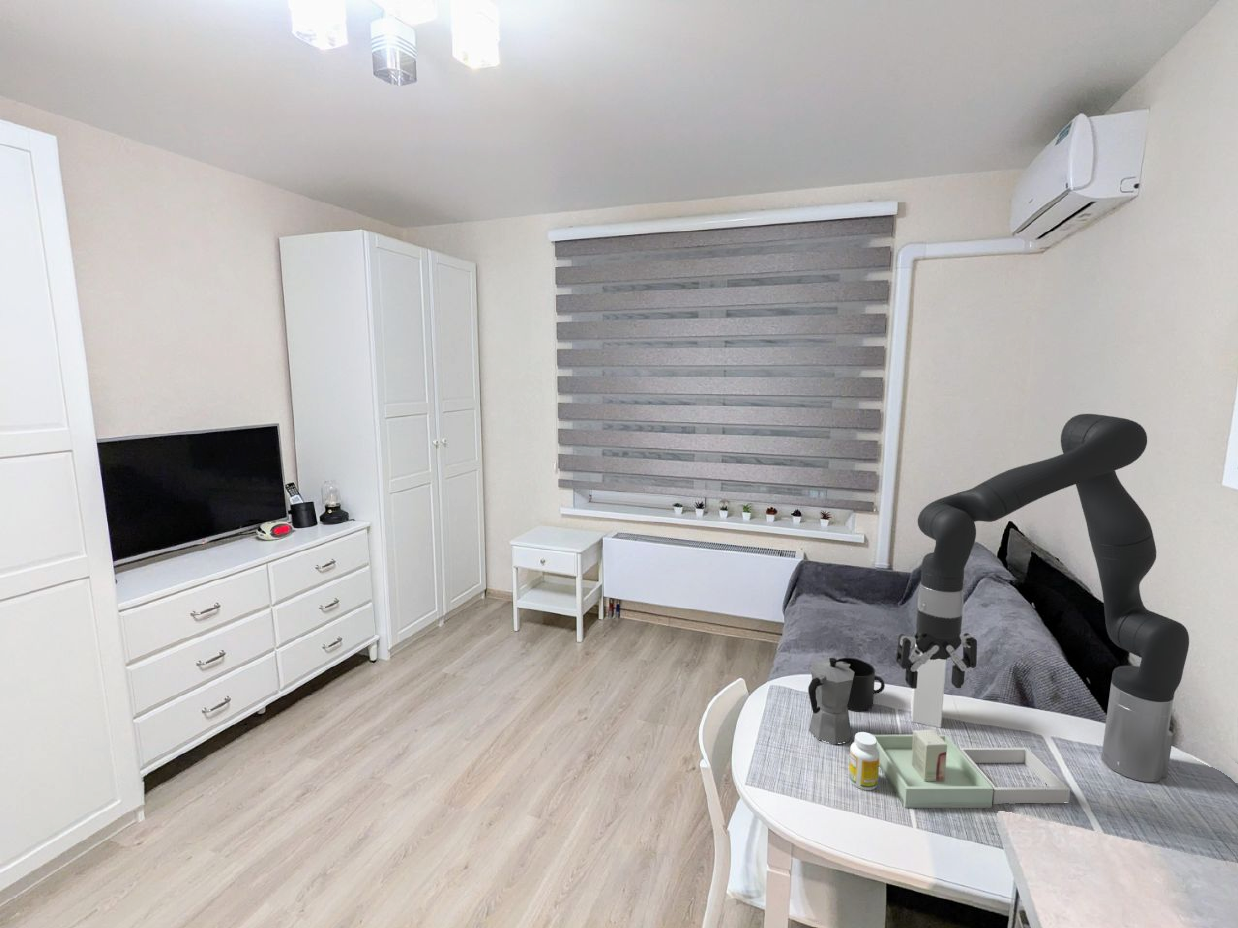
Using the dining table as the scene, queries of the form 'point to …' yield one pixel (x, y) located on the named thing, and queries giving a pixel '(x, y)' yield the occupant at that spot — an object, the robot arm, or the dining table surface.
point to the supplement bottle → (864, 761)
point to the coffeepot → (830, 700)
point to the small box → (929, 755)
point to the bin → (953, 792)
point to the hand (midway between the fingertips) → (933, 686)
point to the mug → (862, 684)
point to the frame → (1013, 795)
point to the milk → (929, 693)
